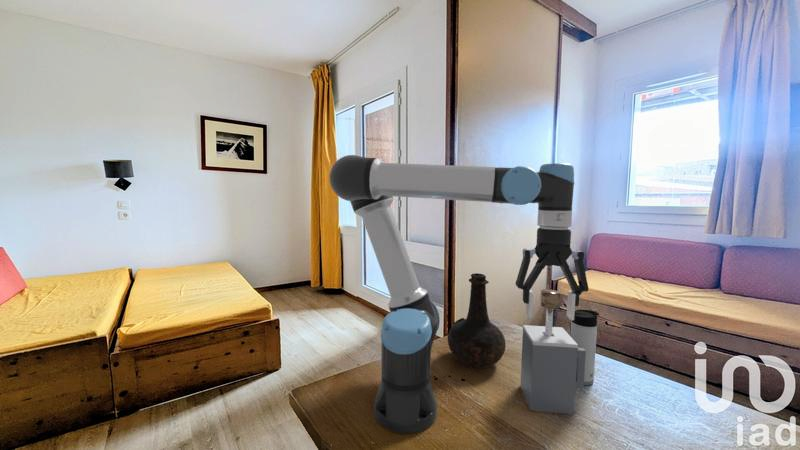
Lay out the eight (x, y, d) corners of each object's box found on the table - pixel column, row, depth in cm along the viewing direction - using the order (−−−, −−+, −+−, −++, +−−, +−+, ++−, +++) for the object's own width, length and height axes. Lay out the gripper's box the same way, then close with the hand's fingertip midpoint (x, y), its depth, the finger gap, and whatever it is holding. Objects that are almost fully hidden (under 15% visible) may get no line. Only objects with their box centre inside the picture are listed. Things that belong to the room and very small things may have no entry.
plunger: (539, 386, 79) (544, 294, 77) (534, 376, 83) (538, 289, 81) (558, 387, 78) (563, 295, 76) (552, 377, 83) (556, 289, 81)
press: (530, 410, 77) (533, 341, 76) (520, 385, 87) (523, 325, 86) (590, 415, 75) (594, 345, 74) (573, 390, 85) (576, 328, 84)
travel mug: (598, 387, 87) (603, 316, 85) (572, 384, 88) (576, 314, 86) (589, 374, 93) (593, 308, 91) (565, 372, 94) (569, 306, 92)
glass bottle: (470, 342, 113) (473, 265, 110) (516, 363, 99) (520, 275, 97) (435, 358, 102) (436, 272, 99) (481, 383, 88) (484, 285, 85)
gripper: (510, 228, 75) (507, 319, 77) (610, 230, 72) (603, 325, 74) (504, 225, 83) (501, 309, 85) (594, 227, 80) (589, 314, 82)
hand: (549, 316), depth 79 cm, fingers open, 9 cm apart
